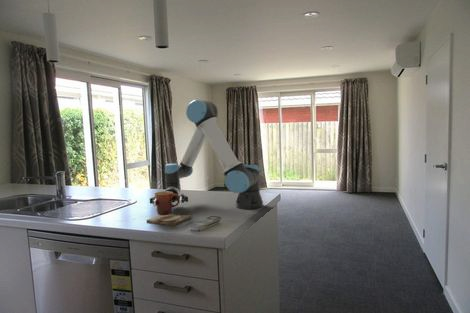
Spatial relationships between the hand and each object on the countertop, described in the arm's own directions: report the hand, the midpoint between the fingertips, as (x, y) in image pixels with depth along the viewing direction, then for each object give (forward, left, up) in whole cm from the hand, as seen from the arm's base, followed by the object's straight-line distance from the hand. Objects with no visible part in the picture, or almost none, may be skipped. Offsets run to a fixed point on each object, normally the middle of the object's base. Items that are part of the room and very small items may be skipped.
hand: (167, 203), depth 156 cm
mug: (+2, -3, -6) cm, 7 cm away
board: (+2, -3, -9) cm, 10 cm away
